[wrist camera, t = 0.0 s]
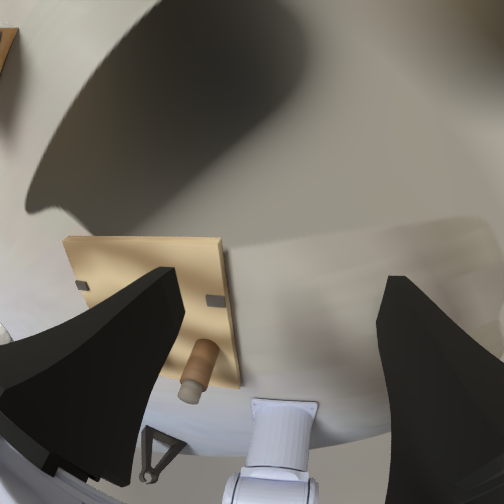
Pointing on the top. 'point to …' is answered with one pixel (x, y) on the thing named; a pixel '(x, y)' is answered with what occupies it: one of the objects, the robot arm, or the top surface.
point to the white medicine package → (4, 335)
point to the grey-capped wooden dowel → (198, 370)
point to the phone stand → (146, 448)
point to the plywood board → (190, 283)
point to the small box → (6, 40)
